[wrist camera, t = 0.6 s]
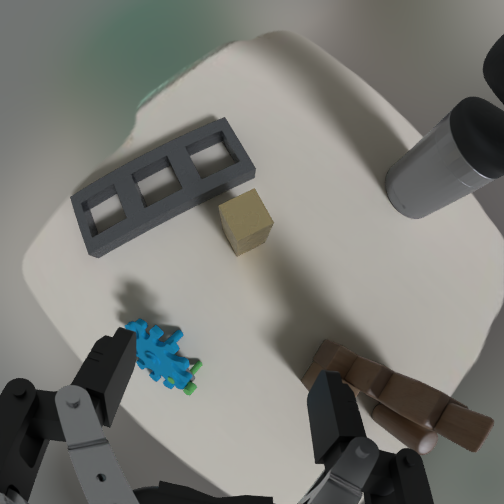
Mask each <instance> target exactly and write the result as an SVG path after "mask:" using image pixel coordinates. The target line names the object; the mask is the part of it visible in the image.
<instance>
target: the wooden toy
mask: <svg viewBox="0 0 504 504" xmlns="http://www.w3.org/2000/svg"><path fill="white" fill-rule="evenodd" d="M321 370H330V371H338V372H339V373H340V375H341V379H342V383H346V384H348V385H349V387H350V388H351V389H352V390H353V392H354V394H355V398H356V397H357V395H358V393H359V392H360V391H362V392H363V393H365V394H366V395H368V396H370V397H372V398H374V399H376V400H378V401H379V402H381V404H379V405H377V406H376V407H375V408H374V410H373V413H372V417H373V420H374V421H375V422H376V423H378V424H379V425H380V426H381V427H383V428H384V429H385V430H386V431H388V432H389V433H390V434H392V435H393V436H394V437H395V438H397V439H398V440H399V441H401V442H402V443H403V444H404V445H406V446H407V447H408V448H410V449H413V450H415V451H416V452H417V453H418V454H419V455H425V454H427V453H429V452H430V451H431V450H433V448H434V447H435V446H436V443H437V441H438V435H437V433H438V434H440V435H442V436H443V437H445V438H447V439H449V440H451V441H452V442H454V443H456V444H458V445H460V446H461V447H463V448H465V449H467V450H469V451H471V452H477V451H479V450H480V448H481V447H482V445H483V443H484V442H485V440H486V438H487V436H488V435H489V433H490V431H491V429H492V427H493V426H494V420H493V419H492V418H490V417H488V416H485V415H482V414H480V413H477V412H474V411H472V410H469V409H468V407H467V406H465V405H464V404H462V403H460V402H458V401H456V400H455V399H453V398H451V397H449V396H448V395H446V394H445V393H443V392H441V391H439V390H437V389H435V388H433V387H431V386H429V385H426V384H424V383H422V382H420V381H418V380H415V379H413V378H410V377H407V376H405V375H402V374H399V373H396V372H394V371H393V370H391V369H389V368H387V367H386V366H384V365H382V364H379V363H376V362H374V361H371V360H369V359H366V358H364V357H361V356H359V355H357V354H355V353H354V352H352V351H350V350H349V349H347V348H345V347H344V346H342V345H339V344H337V343H334V342H332V341H329V340H326V339H325V340H324V341H323V343H322V345H321V346H320V348H319V350H318V351H317V353H316V354H315V356H314V358H313V363H312V364H311V366H310V367H309V369H308V370H307V372H306V374H305V375H304V377H303V378H302V380H301V382H302V383H303V385H304V386H305V387H306V388H307V389H308V391H310V389H311V387H312V386H313V384H314V382H315V380H316V378H317V376H318V375H319V373H320V371H321Z"/></svg>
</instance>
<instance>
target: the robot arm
mask: <svg viewBox="0 0 504 504" xmlns="http://www.w3.org/2000/svg"><path fill="white" fill-rule="evenodd" d="M483 74H484V78H485V80H486V82H487V84H488V85H489V87H490V88H491V89H492V91H493V92H494V93H495V95H496V96H497V97H498V98H499V100H500V101H501V102H502V103H503V104H504V35H502V36H501V37H500V38H499V39H498V41H497V42H496V43H495V44H494V45H493V46H492V48H491V49H490V51H489V52H488V54H487V56H486V58H485V61H484V64H483ZM503 175H504V111H503V110H501V109H500V108H498V107H496V106H494V105H493V104H491V103H490V102H488V101H486V100H484V99H482V98H479V97H468V98H465V99H463V100H462V101H461V102H460V103H459V104H457V106H455V107H454V108H453V109H452V111H450V112H449V113H448V114H447V115H446V116H445V117H444V118H443V119H442V120H441V121H440V122H439V123H438V124H437V125H436V126H435V127H434V128H433V129H432V130H431V131H430V132H429V133H427V134H426V135H425V136H424V137H423V138H422V139H421V140H420V141H419V142H418V143H417V144H416V145H415V146H414V147H413V148H412V149H411V150H409V151H408V152H407V153H406V154H405V155H404V156H403V157H402V158H401V159H400V160H399V161H398V162H397V163H395V164H394V165H393V166H392V167H391V168H390V170H389V171H388V173H387V176H386V182H385V184H386V191H387V194H388V197H389V199H390V201H391V203H392V204H393V205H394V207H395V208H396V209H397V210H398V211H399V212H400V213H402V214H403V215H405V216H407V217H409V218H413V219H419V218H423V217H425V216H427V215H429V214H431V213H433V212H435V211H437V210H439V209H441V208H443V207H445V206H447V205H449V204H451V203H453V202H455V201H456V200H458V199H460V198H462V197H464V196H466V195H468V194H470V193H472V192H474V191H475V190H477V189H479V188H481V187H483V186H484V185H486V184H488V183H490V182H492V181H494V180H495V179H497V178H499V177H501V176H503ZM135 363H136V332H135V331H131V330H128V329H125V328H121V327H119V328H118V329H117V331H116V332H115V334H114V336H113V337H110V336H106V335H105V336H104V337H102V338H101V339H99V340H98V341H96V343H95V344H94V346H93V348H92V349H91V352H90V353H89V354H88V356H87V359H85V361H84V363H83V364H82V366H81V368H80V370H79V372H78V373H77V375H76V377H75V378H74V380H73V382H72V383H71V385H69V386H65V387H63V388H61V389H60V390H59V391H56V392H52V391H43V390H36V389H35V387H34V385H33V384H32V383H31V382H30V381H29V380H27V379H23V378H16V379H13V380H11V381H10V382H8V383H7V385H6V386H5V388H4V390H3V391H2V393H1V395H0V504H29V503H28V500H29V497H30V494H31V491H32V488H33V485H34V482H35V479H36V476H37V473H38V470H39V467H40V465H41V462H42V459H43V456H44V453H45V451H46V448H47V446H48V444H49V441H50V440H55V441H63V442H67V445H68V452H69V455H70V458H71V461H72V463H73V466H74V469H75V471H76V473H77V477H78V479H79V482H80V484H81V487H82V489H83V491H84V494H85V496H86V498H87V501H88V503H89V504H274V503H273V497H264V496H251V495H242V496H233V497H222V498H216V497H212V496H210V495H207V494H204V493H202V492H199V491H197V490H194V489H192V488H189V487H186V486H181V485H177V484H172V483H168V482H163V481H160V482H159V486H151V487H142V488H138V489H135V490H132V489H131V487H130V485H129V484H128V482H127V480H126V478H125V476H124V474H123V472H122V470H121V468H120V465H119V463H118V461H117V459H116V457H115V455H114V453H113V450H112V448H111V446H110V444H109V442H108V440H107V439H106V437H105V435H104V433H103V430H102V426H103V425H104V426H107V427H109V428H110V427H111V425H112V422H113V419H114V417H115V414H116V412H117V409H118V407H119V404H120V402H121V399H122V397H123V394H124V392H125V389H126V387H127V384H128V382H129V380H130V377H131V375H132V373H133V370H134V367H135ZM356 402H357V401H356V398H355V394H354V392H353V390H352V389H351V388H350V387H349V385H348V384H346V383H342V379H341V375H340V373H339V372H338V371H330V370H321V371H320V373H319V375H318V376H317V378H316V380H315V382H314V384H313V386H312V387H311V389H310V391H309V393H308V397H307V407H308V414H309V421H310V428H311V436H312V443H313V450H314V458H315V464H324V466H325V469H324V470H323V472H322V473H321V474H320V476H319V477H318V478H317V480H316V481H315V482H314V484H313V485H312V486H311V487H310V489H309V490H308V491H307V493H306V494H305V495H304V496H303V498H302V499H301V500H300V501H299V502H298V503H297V504H358V503H359V501H360V499H361V497H362V494H363V493H362V492H364V500H365V504H434V502H433V499H432V494H431V490H430V486H429V483H428V479H427V475H426V472H425V468H424V465H423V461H422V458H421V456H420V455H419V454H418V453H417V452H416V451H415V450H413V449H409V448H404V449H401V450H400V451H399V452H398V453H397V454H394V453H390V452H386V451H382V450H379V449H378V446H377V445H376V443H375V442H374V441H372V440H371V439H369V438H367V436H366V433H365V429H364V426H363V422H362V419H361V415H360V412H359V411H358V409H359V408H358V405H357V403H356Z"/></svg>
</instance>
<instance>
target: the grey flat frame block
mask: <svg viewBox="0 0 504 504" xmlns="http://www.w3.org/2000/svg"><path fill="white" fill-rule="evenodd" d="M221 141H223V142H224V144H225V146H226V148H227V149H228V151H229V153H230V155H231V156H232V158H233V160H234V162H235V163H236V164H233V165H231V166H229V167H227V168H225V169H223V170H220V171H218V172H216V173H214V174H212V175H210V176H208V177H206V178H203V179H201V177H200V175H199V173H198V171H197V169H196V167H195V165H194V164H193V162H192V160H191V158H190V156H191V155H193V154H195V153H197V152H199V151H201V150H204V149H206V148H208V147H210V146H212V145H215V144H217V143H219V142H221ZM170 165H172V167H173V170H174V172H175V174H176V176H177V178H178V180H179V182H180V184H181V186H182V188H183V189H181V190H179V191H177V192H175V193H173V194H171V195H169V196H167V197H165V198H163V199H161V200H160V201H158V202H156V203H154V204H152V205H150V206H148V207H147V205H146V203H145V200H144V198H143V195H142V193H141V191H140V188H139V186H138V183H137V182H139V181H141V180H143V179H145V178H147V177H148V176H150V175H152V174H154V173H156V172H158V171H160V170H162V169H164V168H166V167H168V166H170ZM255 171H256V168H255V166H254V165H253V163H252V161H251V160H250V158H249V156H248V155H247V153H246V151H245V150H244V148H243V146H242V144H241V143H240V141H239V140H238V138H237V136H236V135H235V133H234V131H233V130H232V128H231V126H230V125H229V123H228V121H227V120H226V118H225V117H224V118H221V119H219V120H217V121H214V122H212V123H209V124H207V125H205V126H203V127H200V128H198V129H196V130H194V131H191V132H189V133H187V134H185V135H183V136H180V137H178V138H176V139H174V140H172V141H170V142H168V143H166V144H164V145H162V146H160V147H158V148H156V149H154V150H152V151H150V152H148V153H146V154H144V155H142V156H140V157H138V158H136V159H134V160H133V161H131V162H129V163H127V164H125V165H123V166H121V167H120V168H118V169H116V170H114V171H113V172H111V173H109V174H107V175H106V176H104V177H102V178H100V179H99V180H97V181H95V182H94V183H92V184H90V185H89V186H87V187H85V188H84V189H82V190H80V191H79V192H77V193H76V194H74V195H73V196H71V197H70V198H71V202H72V205H73V209H74V212H75V215H76V218H77V221H78V225H79V228H80V231H81V234H82V237H83V240H84V243H85V245H86V248H87V251H88V254H89V255H91V256H94V257H96V258H100V257H101V256H103V255H105V254H107V253H108V252H110V251H112V250H114V249H115V248H117V247H119V246H121V245H123V244H124V243H126V242H128V241H130V240H132V239H134V238H135V237H137V236H139V235H141V234H143V233H145V232H146V231H148V230H150V229H152V228H154V227H156V226H158V225H160V224H162V223H163V222H165V221H167V220H169V219H171V218H173V217H175V216H177V215H179V214H181V213H183V212H185V211H187V210H189V209H191V208H193V207H195V206H197V205H199V204H201V203H203V202H205V201H207V200H209V199H211V198H213V197H215V196H217V195H219V194H221V193H223V192H225V191H227V190H229V189H232V188H234V187H236V186H238V185H240V184H242V183H244V182H246V181H249V180H251V179H253V178H255ZM115 194H118V196H119V199H120V202H121V204H122V207H123V209H124V212H125V214H126V217H127V218H126V219H124V220H122V221H121V222H119V223H117V224H115V225H114V226H112V227H110V228H108V229H107V230H105V231H103V232H101V233H100V234H98V231H97V229H96V226H95V223H94V220H93V217H92V214H91V211H90V209H91V208H93V207H95V206H96V205H98V204H100V203H102V202H103V201H105V200H107V199H108V198H110V197H112V196H114V195H115Z"/></svg>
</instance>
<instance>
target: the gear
mask: <svg viewBox="0 0 504 504" xmlns="http://www.w3.org/2000/svg"><path fill="white" fill-rule="evenodd" d="M147 327H148V324H147V322H146V321H144V320H142V319H140V318H139V319H138V320H137V321H136V322H133V321H131V322H129V323H128V324H126V325H125V328H126V329H128V330H131V331H135V332H136V356H137V357H139V358H140V359H139V360H138V361H137V362H136V363H137V364H138V366H139V367H140V368H141V369H144V368H149V369H151V370H153V371H152V372H151V373H150V374H149V376H150V377H151V378H152V379H153V380H154V381H156V382H157V381H158V380H159V379H160V378H161V376H163V377H164V378H165V381H164V382H163V384H164V385H165V386H166V387H168V388H170V389H172V388H173V387H174V386H176V387H177V388H178V389H184V390H183V391H184V392H185V394H187V395H191V394H192V393H193V392H194V390H195V389H196V388H197V386H196V385H195V384H194V383H192V382H193V381H194V379H195V377H194V374H195V373H196V372H197V370H198V369H199V368H200V367H201V366H202V363H201V362H200V361H198V362H197V363H196V364H195V365H194V366H193V367H192V368H191V369H190V370H189V369H188V367H189V360H188V359H187V358H185V357H179V356H177V355H175V353H176V352H177V351H178V350H179V346H178V345H177V343H176V342H177V341H178V340H179V339H180V338H181V337H182V336H183V333H182V331H180V330H177V331H176V332H175V333H174V334H173V335H172V336H171V337H169V338H168V339H167V340H166V341H165V342H161V341H159V340H158V339H159V338H160V337H161V336H162V335H163V334H164V332H163V331H162V330H161V329H160V328H159V327H158V326H157V325H155V326H154V327H153V328H151V329H150V331H149V332H150V335H148V334H147V332H146V330H145V329H146V328H147Z"/></svg>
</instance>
